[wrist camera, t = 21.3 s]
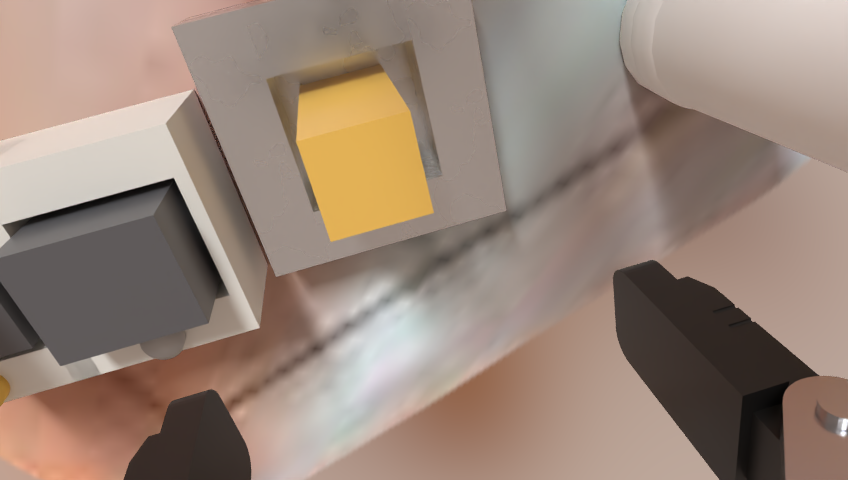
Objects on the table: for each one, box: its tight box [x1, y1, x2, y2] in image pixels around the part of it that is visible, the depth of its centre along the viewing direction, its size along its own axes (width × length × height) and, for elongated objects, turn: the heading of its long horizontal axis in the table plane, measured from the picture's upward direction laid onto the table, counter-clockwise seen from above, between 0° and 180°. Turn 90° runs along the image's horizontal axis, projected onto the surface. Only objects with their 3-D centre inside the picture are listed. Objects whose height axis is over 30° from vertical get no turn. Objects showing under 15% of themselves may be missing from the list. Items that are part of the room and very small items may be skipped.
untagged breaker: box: [0, 178, 221, 366], centre depth 23 cm, size 5×6×5 cm
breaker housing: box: [0, 89, 268, 406], centre depth 26 cm, size 10×16×7 cm, turn 104°
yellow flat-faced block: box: [296, 64, 434, 242], centre depth 24 cm, size 4×4×9 cm
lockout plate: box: [171, 0, 506, 277], centre depth 27 cm, size 12×12×4 cm
